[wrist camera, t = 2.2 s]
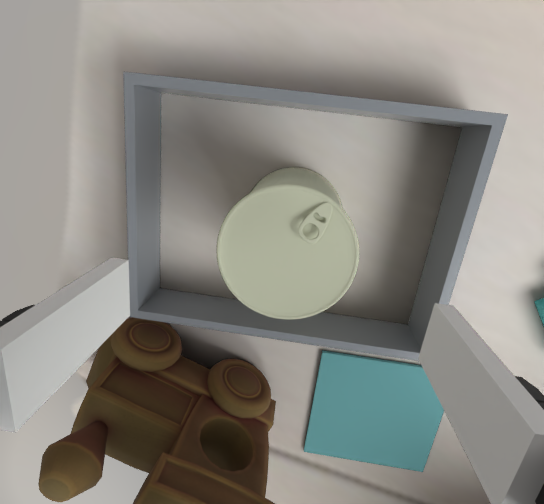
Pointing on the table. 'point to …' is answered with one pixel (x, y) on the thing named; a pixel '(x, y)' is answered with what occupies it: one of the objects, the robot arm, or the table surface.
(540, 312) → the alien figure
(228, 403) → the wooden toy train
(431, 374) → the robot arm
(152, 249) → the crate
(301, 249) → the can
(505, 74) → the table surface
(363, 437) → the mat
